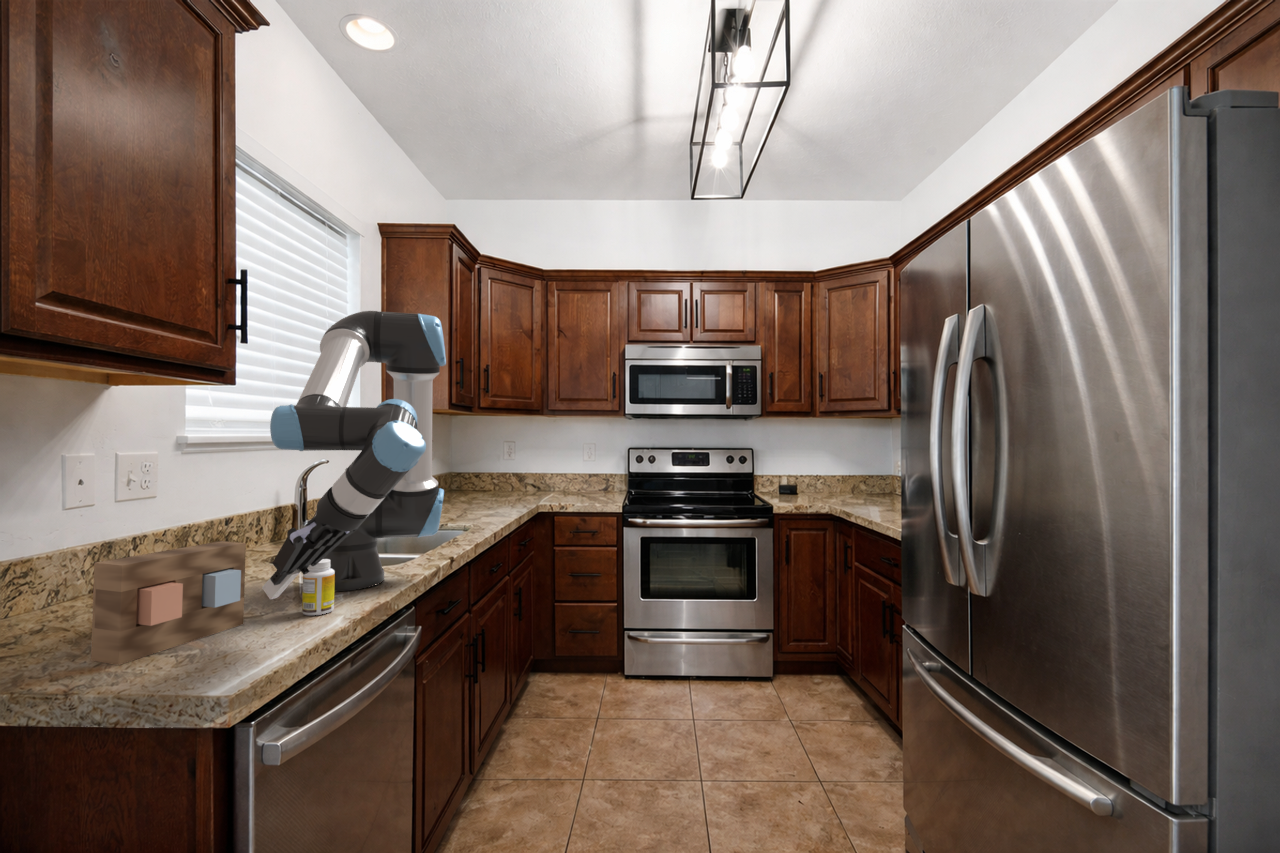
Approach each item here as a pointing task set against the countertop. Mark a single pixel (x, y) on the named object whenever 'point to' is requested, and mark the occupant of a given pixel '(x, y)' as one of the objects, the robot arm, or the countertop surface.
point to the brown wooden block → (121, 578)
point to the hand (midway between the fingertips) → (269, 592)
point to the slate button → (221, 587)
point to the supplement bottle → (318, 589)
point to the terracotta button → (159, 603)
